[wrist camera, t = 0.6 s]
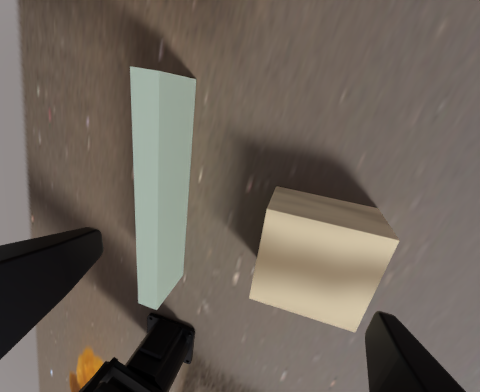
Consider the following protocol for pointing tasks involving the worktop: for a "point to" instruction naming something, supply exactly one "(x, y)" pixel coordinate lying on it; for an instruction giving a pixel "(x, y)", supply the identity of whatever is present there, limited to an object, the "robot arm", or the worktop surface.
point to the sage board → (161, 177)
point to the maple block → (321, 257)
